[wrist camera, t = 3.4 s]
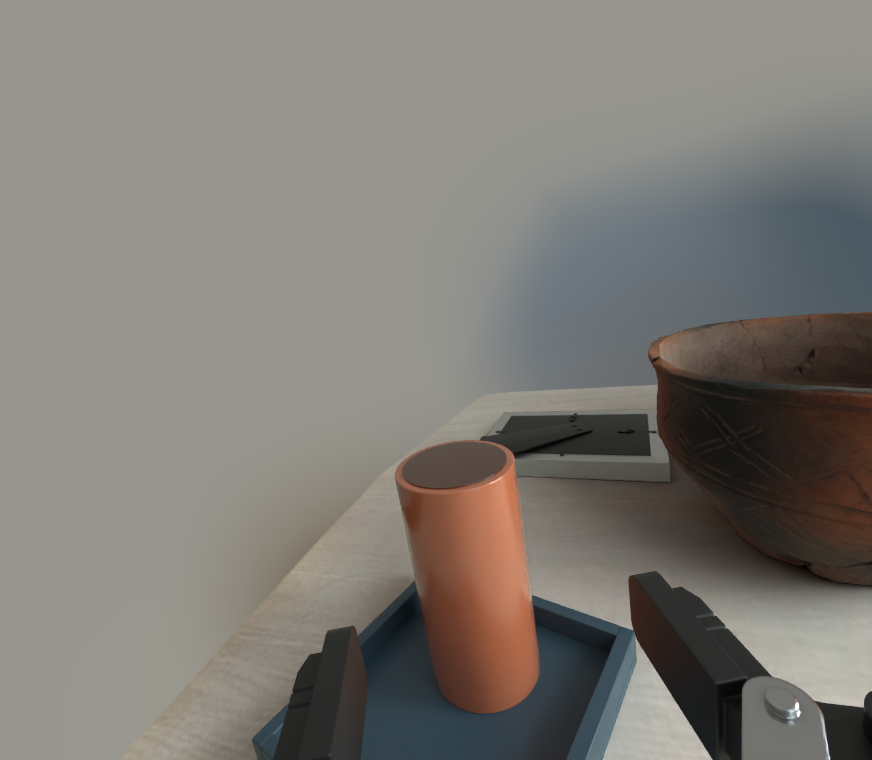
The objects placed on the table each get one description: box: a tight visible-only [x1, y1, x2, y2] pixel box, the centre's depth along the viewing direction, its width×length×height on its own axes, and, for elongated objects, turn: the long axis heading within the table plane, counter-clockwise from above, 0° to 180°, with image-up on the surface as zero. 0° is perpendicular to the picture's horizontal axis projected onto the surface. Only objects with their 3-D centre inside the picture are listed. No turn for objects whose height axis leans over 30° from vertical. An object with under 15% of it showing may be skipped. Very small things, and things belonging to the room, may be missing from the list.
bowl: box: [648, 312, 872, 586], centre depth 32 cm, size 25×25×15 cm
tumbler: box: [395, 440, 540, 714], centre depth 25 cm, size 6×6×13 cm
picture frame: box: [479, 409, 670, 482], centre depth 55 cm, size 16×3×21 cm
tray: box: [252, 581, 637, 760], centre depth 24 cm, size 15×16×2 cm
